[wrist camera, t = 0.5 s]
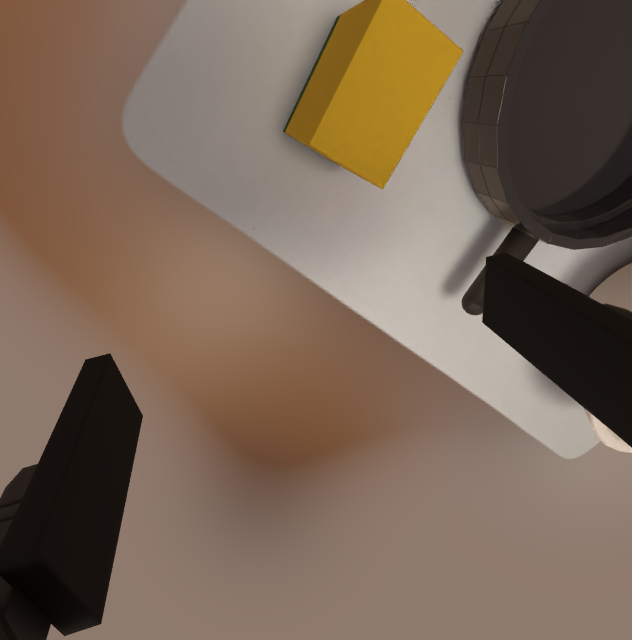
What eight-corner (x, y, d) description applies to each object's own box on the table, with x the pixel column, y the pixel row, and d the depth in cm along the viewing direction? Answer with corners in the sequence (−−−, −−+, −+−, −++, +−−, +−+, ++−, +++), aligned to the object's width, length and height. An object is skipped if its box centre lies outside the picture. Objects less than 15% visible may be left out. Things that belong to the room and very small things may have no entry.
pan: (604, -179, 22) (686, -235, 19) (750, 42, 30) (828, 35, 27) (405, 158, 29) (436, 168, 25) (570, 267, 37) (612, 287, 33)
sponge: (337, 16, 24) (389, -15, 17) (396, 62, 26) (464, 51, 19) (282, 131, 26) (308, 144, 19) (340, 166, 28) (382, 189, 21)
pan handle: (516, 212, 30) (535, 219, 28) (533, 224, 31) (552, 232, 29) (451, 302, 33) (465, 314, 31) (469, 311, 33) (483, 323, 32)
